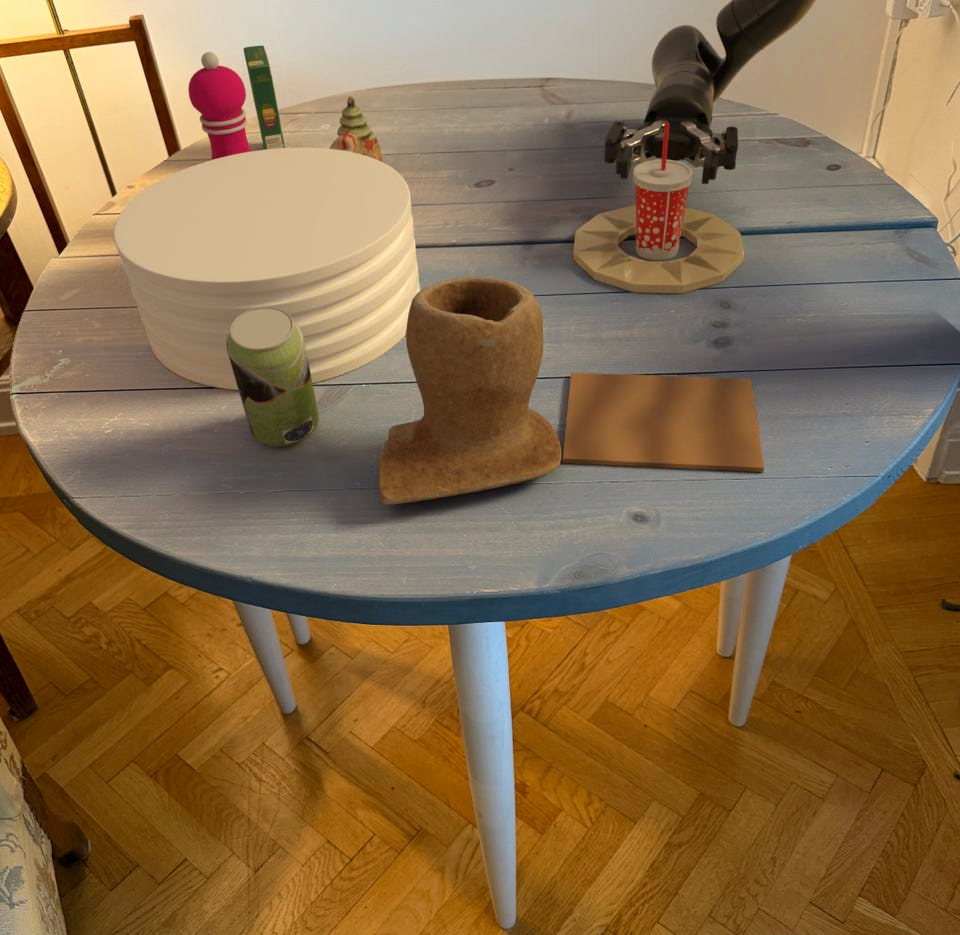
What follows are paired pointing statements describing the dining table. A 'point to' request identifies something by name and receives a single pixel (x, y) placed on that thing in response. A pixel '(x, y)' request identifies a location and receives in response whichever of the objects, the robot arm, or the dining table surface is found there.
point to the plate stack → (272, 257)
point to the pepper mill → (220, 106)
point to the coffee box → (264, 97)
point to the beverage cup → (660, 204)
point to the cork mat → (662, 422)
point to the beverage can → (273, 376)
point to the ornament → (356, 133)
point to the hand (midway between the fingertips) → (664, 173)
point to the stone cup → (470, 394)
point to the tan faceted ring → (700, 269)
